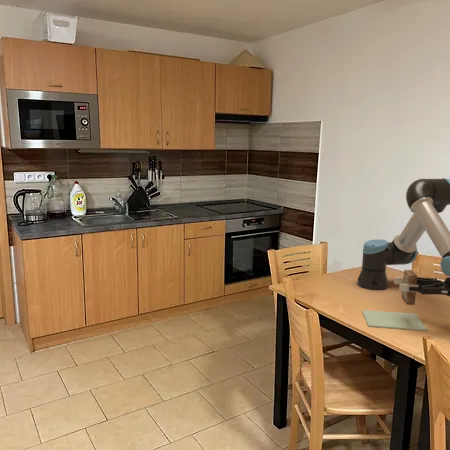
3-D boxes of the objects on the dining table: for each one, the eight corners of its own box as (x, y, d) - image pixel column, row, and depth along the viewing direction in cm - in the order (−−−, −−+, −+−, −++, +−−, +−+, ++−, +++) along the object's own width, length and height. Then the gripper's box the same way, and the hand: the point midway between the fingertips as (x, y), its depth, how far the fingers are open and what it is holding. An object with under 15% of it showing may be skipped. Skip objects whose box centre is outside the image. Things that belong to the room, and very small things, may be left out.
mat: (368, 326, 168) (368, 325, 168) (362, 311, 184) (362, 310, 183) (427, 331, 165) (427, 329, 164) (415, 315, 180) (415, 313, 180)
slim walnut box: (406, 304, 168) (408, 275, 166) (401, 297, 176) (403, 269, 173) (414, 305, 167) (417, 275, 165) (409, 298, 175) (411, 270, 173)
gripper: (466, 305, 158) (402, 301, 161) (447, 287, 178) (390, 284, 182) (469, 286, 157) (404, 283, 160) (448, 270, 177) (391, 267, 180)
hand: (397, 283), depth 171 cm, fingers closed on slim walnut box, 8 cm apart
